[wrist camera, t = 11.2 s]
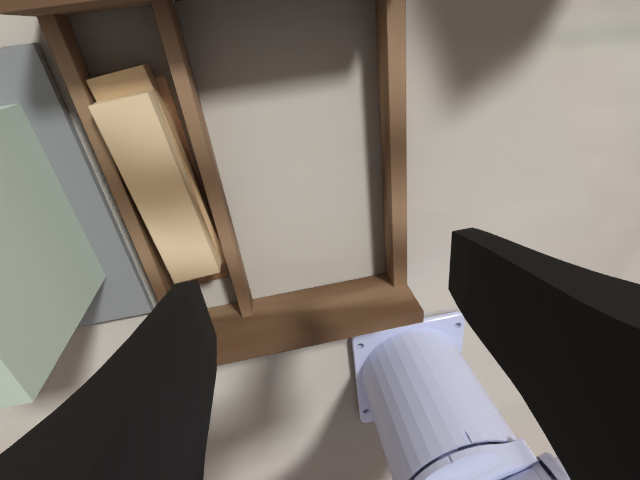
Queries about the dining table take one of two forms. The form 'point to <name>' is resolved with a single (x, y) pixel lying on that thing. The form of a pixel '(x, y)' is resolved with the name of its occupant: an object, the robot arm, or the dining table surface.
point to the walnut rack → (247, 314)
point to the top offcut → (158, 183)
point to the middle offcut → (144, 80)
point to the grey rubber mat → (74, 181)
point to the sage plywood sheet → (37, 263)
